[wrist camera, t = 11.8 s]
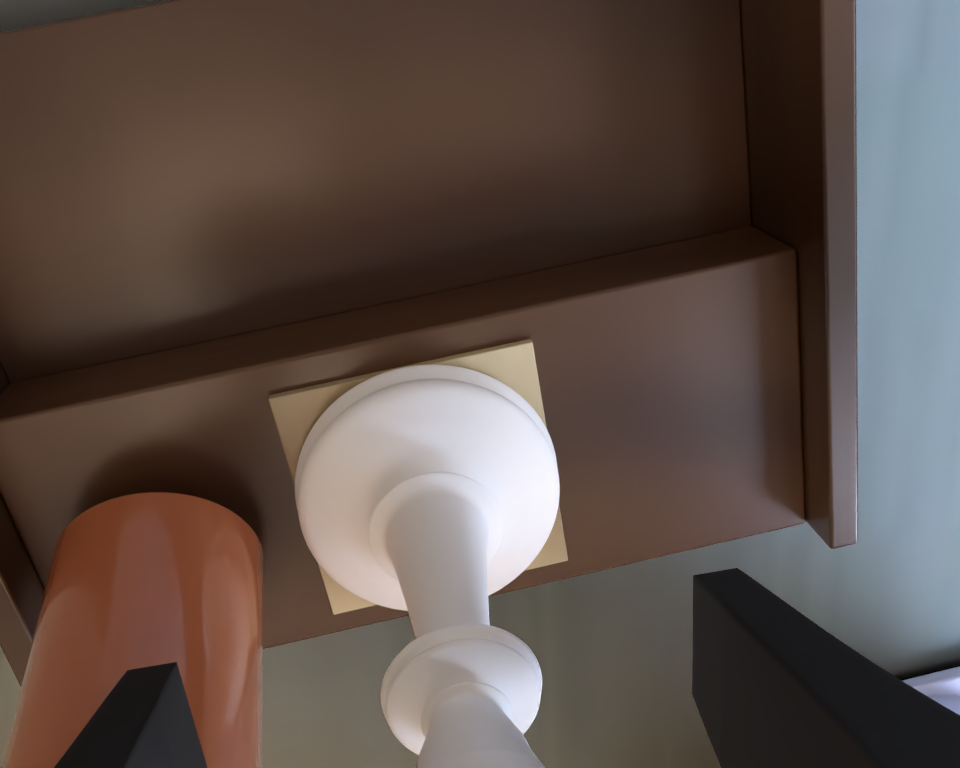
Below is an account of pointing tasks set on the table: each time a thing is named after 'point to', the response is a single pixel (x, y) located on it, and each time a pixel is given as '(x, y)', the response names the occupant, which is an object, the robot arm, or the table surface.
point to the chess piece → (437, 546)
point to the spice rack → (429, 263)
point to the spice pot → (148, 624)
